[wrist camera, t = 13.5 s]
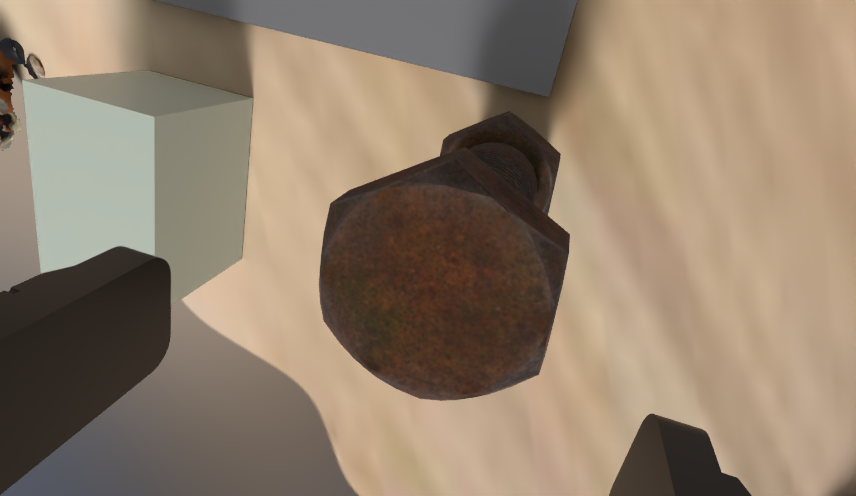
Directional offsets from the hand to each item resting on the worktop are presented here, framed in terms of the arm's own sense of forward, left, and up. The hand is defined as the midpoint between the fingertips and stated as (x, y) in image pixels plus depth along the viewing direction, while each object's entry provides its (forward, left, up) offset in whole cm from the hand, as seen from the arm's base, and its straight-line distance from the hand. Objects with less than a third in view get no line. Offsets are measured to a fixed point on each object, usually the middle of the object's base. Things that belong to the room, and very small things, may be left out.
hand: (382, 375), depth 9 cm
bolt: (0, 0, -18) cm, 18 cm away
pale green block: (+16, +5, -18) cm, 24 cm away
